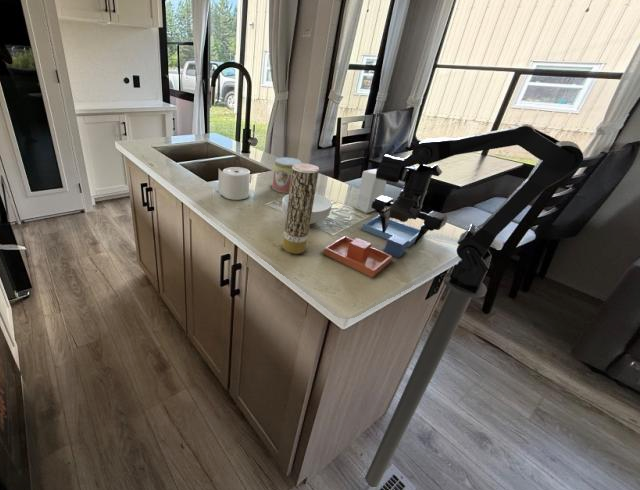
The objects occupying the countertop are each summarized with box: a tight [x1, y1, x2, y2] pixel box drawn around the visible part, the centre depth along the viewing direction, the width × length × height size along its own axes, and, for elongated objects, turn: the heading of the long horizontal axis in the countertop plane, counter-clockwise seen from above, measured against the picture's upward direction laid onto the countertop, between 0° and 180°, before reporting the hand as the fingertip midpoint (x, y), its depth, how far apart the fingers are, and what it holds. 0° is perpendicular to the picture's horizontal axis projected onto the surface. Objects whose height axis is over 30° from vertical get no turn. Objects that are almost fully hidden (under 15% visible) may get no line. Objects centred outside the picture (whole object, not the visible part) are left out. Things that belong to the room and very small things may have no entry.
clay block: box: [347, 237, 372, 262], centre depth 93 cm, size 4×4×4 cm
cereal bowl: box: [281, 193, 333, 225], centre depth 113 cm, size 17×17×7 cm
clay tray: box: [323, 235, 393, 278], centre depth 93 cm, size 15×11×2 cm
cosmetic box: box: [354, 168, 388, 214], centre depth 122 cm, size 8×6×15 cm
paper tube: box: [282, 162, 320, 255], centre depth 91 cm, size 7×7×25 cm
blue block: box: [383, 235, 409, 259], centre depth 97 cm, size 4×4×4 cm
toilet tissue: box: [217, 166, 251, 201], centre depth 130 cm, size 11×12×10 cm
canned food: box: [271, 156, 303, 194], centre depth 138 cm, size 11×11×12 cm
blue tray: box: [361, 214, 421, 248], centre depth 108 cm, size 15×11×2 cm
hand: (399, 238), depth 95 cm, fingers open, 9 cm apart
